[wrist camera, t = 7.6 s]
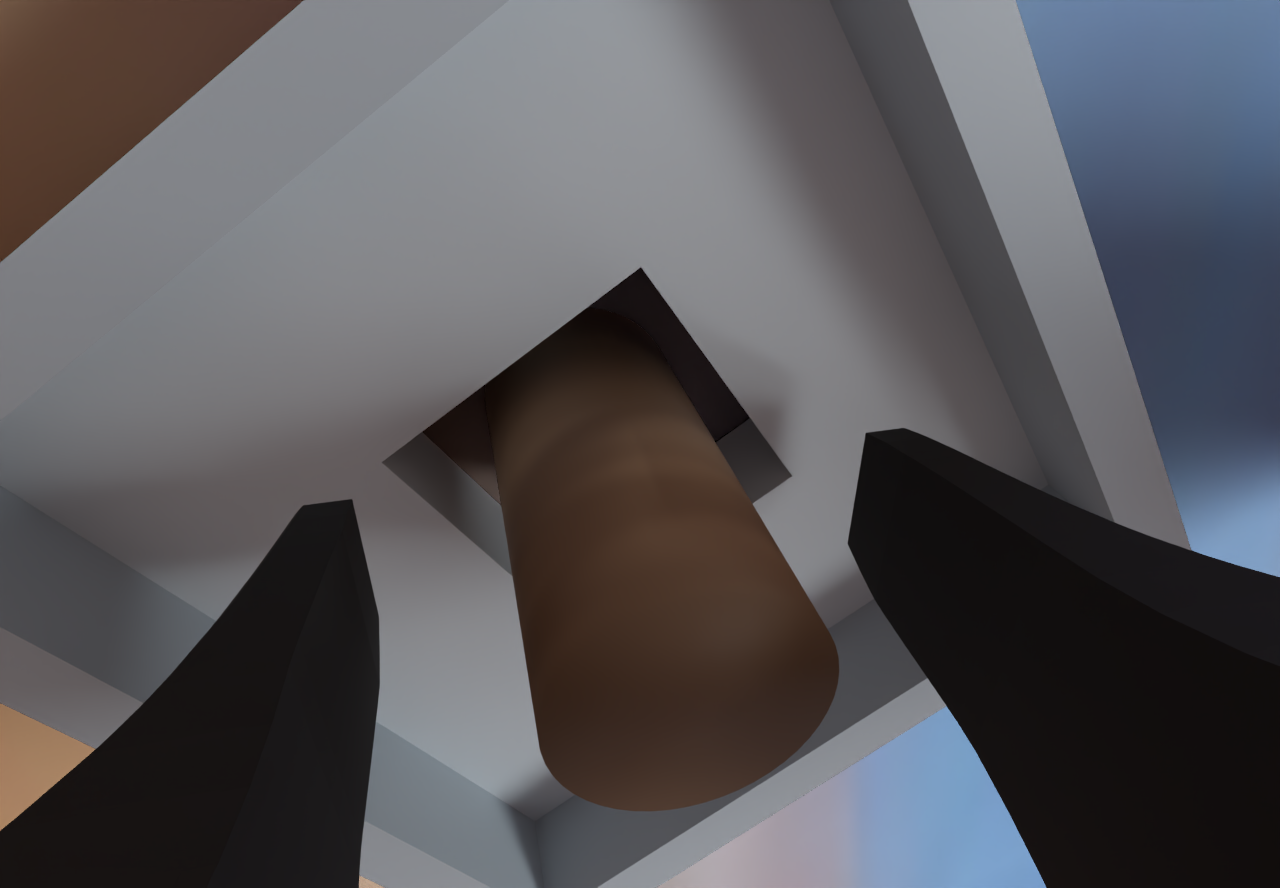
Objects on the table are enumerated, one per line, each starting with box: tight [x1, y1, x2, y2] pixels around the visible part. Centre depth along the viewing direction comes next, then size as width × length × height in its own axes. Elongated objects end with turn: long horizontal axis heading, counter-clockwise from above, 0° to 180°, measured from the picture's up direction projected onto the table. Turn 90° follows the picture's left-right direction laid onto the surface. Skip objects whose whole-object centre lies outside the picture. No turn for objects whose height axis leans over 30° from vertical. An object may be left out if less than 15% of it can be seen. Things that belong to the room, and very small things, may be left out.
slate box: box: [0, 0, 1191, 888], centre depth 13 cm, size 14×14×4 cm
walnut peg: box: [485, 308, 839, 811], centre depth 11 cm, size 3×3×7 cm
